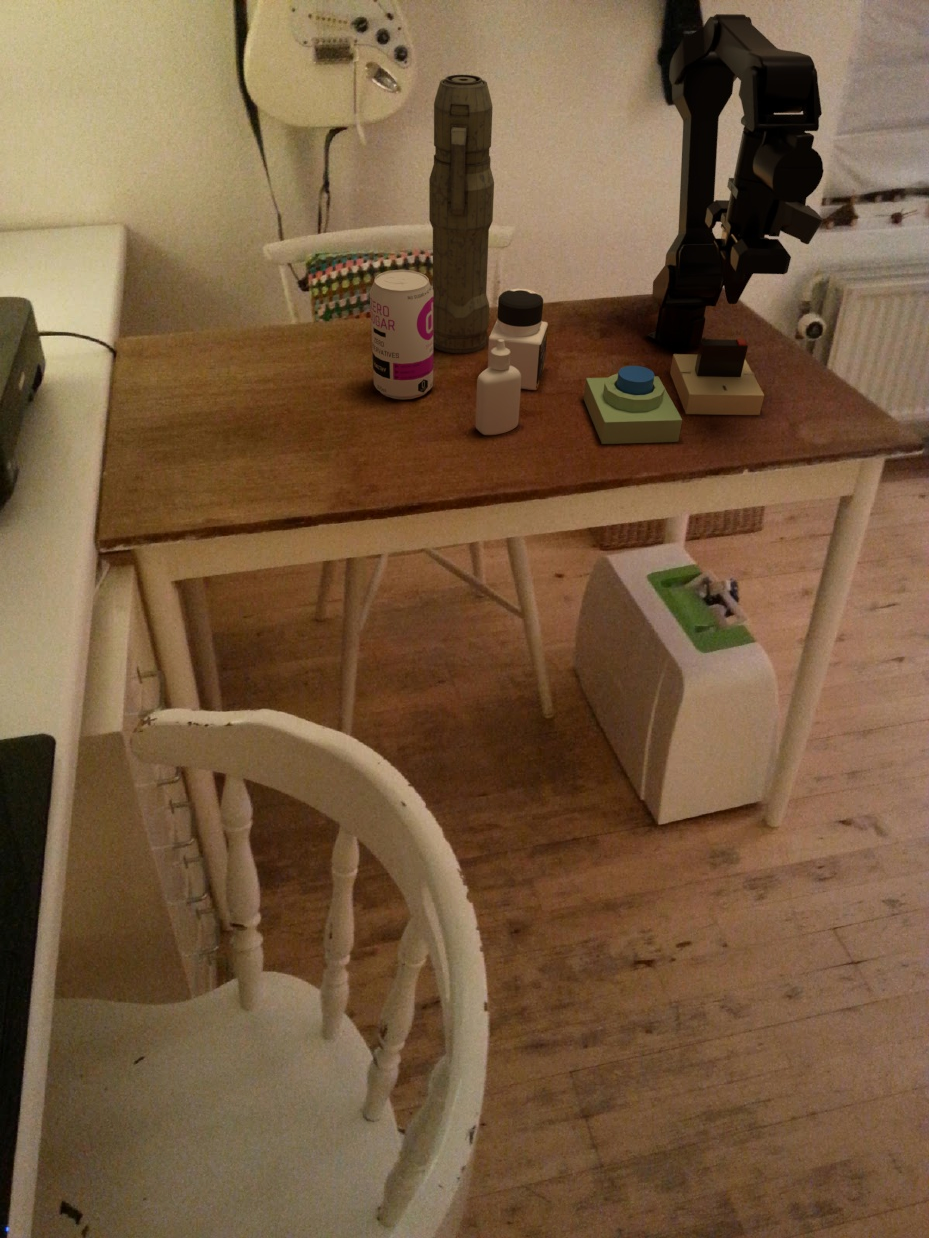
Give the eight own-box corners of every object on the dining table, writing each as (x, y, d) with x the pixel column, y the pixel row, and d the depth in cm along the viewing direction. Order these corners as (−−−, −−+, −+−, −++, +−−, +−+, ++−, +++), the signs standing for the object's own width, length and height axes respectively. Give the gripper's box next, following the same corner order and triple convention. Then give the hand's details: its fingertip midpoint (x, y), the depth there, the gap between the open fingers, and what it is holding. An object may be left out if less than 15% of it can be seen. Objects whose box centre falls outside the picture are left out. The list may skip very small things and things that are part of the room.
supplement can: (441, 379, 133) (442, 273, 124) (420, 406, 127) (419, 296, 118) (388, 370, 135) (384, 264, 126) (364, 395, 129) (359, 287, 120)
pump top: (612, 380, 124) (614, 366, 123) (647, 379, 125) (649, 365, 124) (620, 397, 121) (622, 382, 120) (656, 396, 121) (658, 381, 120)
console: (669, 373, 137) (672, 352, 135) (739, 374, 137) (744, 354, 135) (684, 414, 128) (689, 393, 125) (760, 415, 128) (765, 394, 126)
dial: (697, 376, 129) (703, 343, 126) (694, 369, 131) (700, 337, 128) (740, 377, 130) (748, 344, 126) (737, 370, 131) (745, 338, 128)
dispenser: (583, 399, 130) (587, 365, 127) (654, 397, 131) (660, 363, 128) (601, 444, 121) (606, 409, 118) (678, 442, 122) (685, 407, 119)
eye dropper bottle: (474, 419, 125) (477, 332, 117) (517, 420, 125) (523, 333, 117) (475, 436, 122) (478, 348, 114) (519, 436, 122) (525, 348, 114)
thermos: (429, 358, 138) (428, 89, 116) (428, 324, 147) (428, 68, 124) (489, 358, 139) (501, 90, 116) (485, 324, 148) (496, 69, 125)
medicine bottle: (537, 391, 131) (543, 307, 124) (486, 385, 132) (489, 301, 125) (544, 368, 137) (551, 286, 129) (495, 363, 138) (499, 281, 130)
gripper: (850, 202, 107) (813, 334, 117) (803, 155, 121) (774, 277, 131) (752, 200, 106) (723, 333, 116) (716, 153, 120) (693, 275, 131)
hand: (731, 303), depth 124 cm, fingers closed
